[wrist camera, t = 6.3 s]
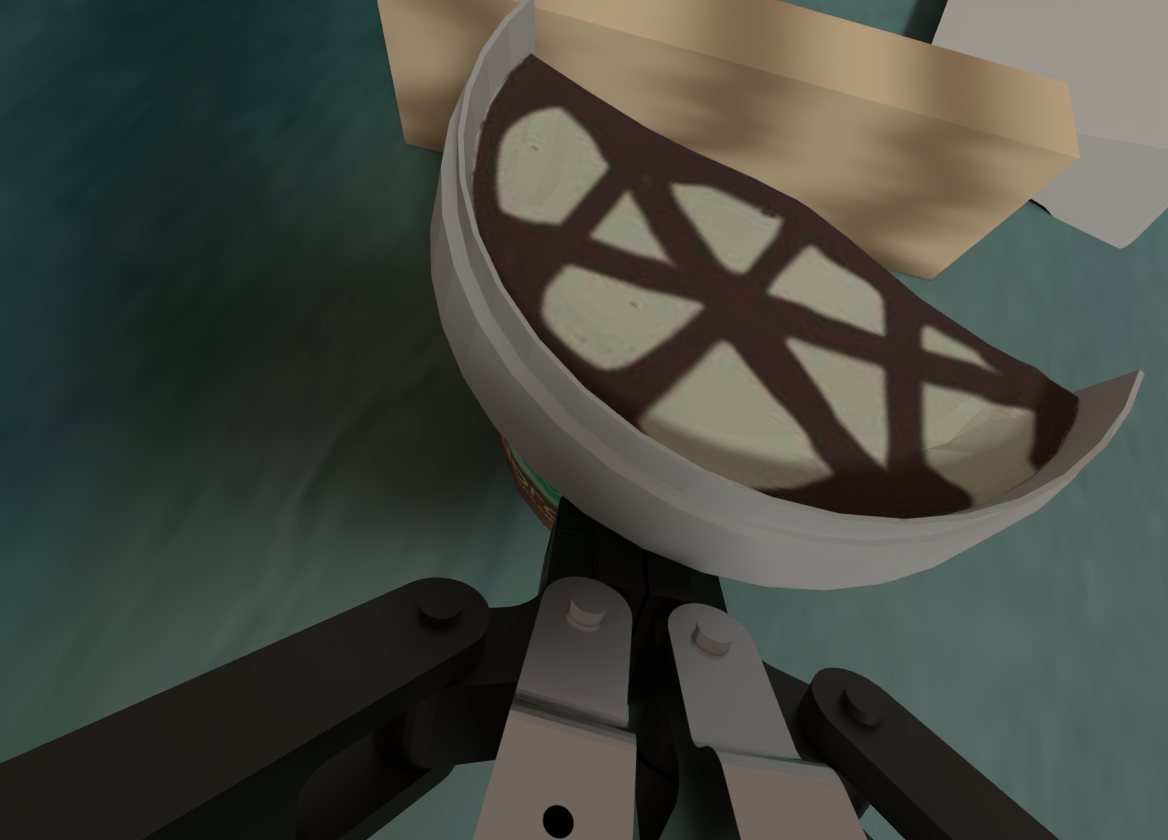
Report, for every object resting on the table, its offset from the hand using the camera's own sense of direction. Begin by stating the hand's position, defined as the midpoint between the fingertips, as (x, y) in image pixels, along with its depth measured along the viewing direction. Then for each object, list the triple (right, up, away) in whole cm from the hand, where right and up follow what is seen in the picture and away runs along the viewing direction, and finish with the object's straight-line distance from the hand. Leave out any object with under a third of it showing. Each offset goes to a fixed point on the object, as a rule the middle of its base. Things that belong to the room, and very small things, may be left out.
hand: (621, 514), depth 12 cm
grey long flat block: (+24, +25, +19) cm, 40 cm away
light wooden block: (+3, +11, +10) cm, 15 cm away
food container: (0, 0, +5) cm, 5 cm away
